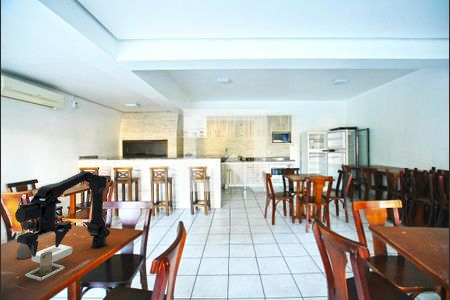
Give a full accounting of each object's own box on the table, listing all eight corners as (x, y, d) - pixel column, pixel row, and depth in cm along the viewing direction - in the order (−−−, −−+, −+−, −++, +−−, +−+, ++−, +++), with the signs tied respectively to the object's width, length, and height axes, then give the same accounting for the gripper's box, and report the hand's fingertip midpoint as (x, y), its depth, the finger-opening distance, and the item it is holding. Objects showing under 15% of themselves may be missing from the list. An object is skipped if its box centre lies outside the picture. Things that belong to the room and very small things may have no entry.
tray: (50, 265, 102) (50, 262, 102) (64, 269, 99) (64, 266, 99) (25, 277, 92) (25, 274, 92) (40, 282, 89) (40, 278, 89)
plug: (47, 268, 98) (47, 250, 98) (53, 270, 97) (54, 252, 97) (37, 273, 94) (38, 255, 94) (44, 275, 93) (44, 256, 93)
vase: (36, 258, 108) (37, 240, 108) (17, 263, 103) (17, 244, 103) (34, 253, 112) (34, 236, 112) (15, 257, 107) (16, 239, 107)
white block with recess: (57, 251, 115) (57, 243, 115) (72, 254, 112) (72, 247, 112) (31, 262, 104) (31, 254, 104) (47, 266, 101) (47, 258, 101)
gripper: (55, 208, 106) (54, 240, 107) (8, 219, 89) (6, 258, 89) (73, 210, 103) (71, 244, 103) (27, 223, 85) (26, 263, 85)
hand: (45, 251), depth 95 cm, fingers open, 9 cm apart
